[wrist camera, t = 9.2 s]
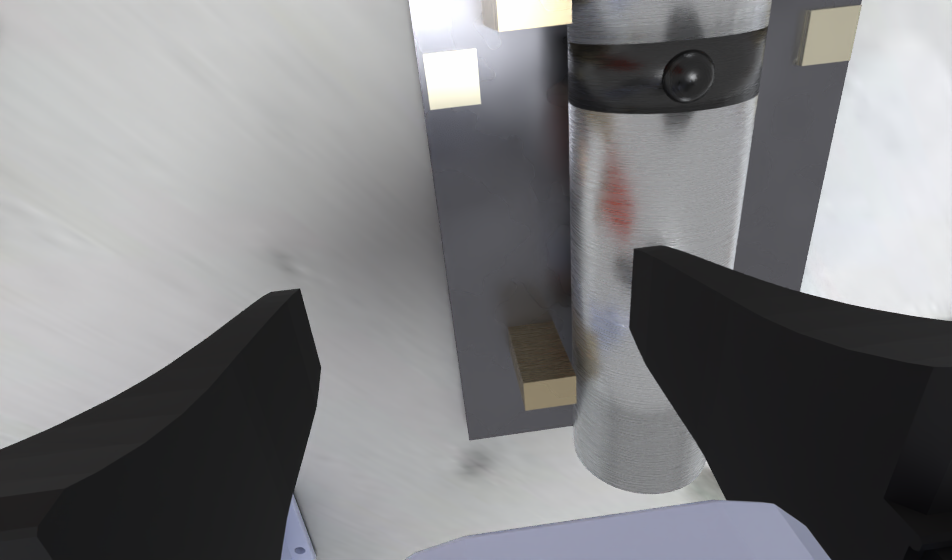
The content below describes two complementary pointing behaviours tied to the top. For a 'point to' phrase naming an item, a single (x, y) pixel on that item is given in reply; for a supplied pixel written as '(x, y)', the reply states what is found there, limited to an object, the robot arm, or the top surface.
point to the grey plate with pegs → (548, 182)
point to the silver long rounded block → (650, 201)
